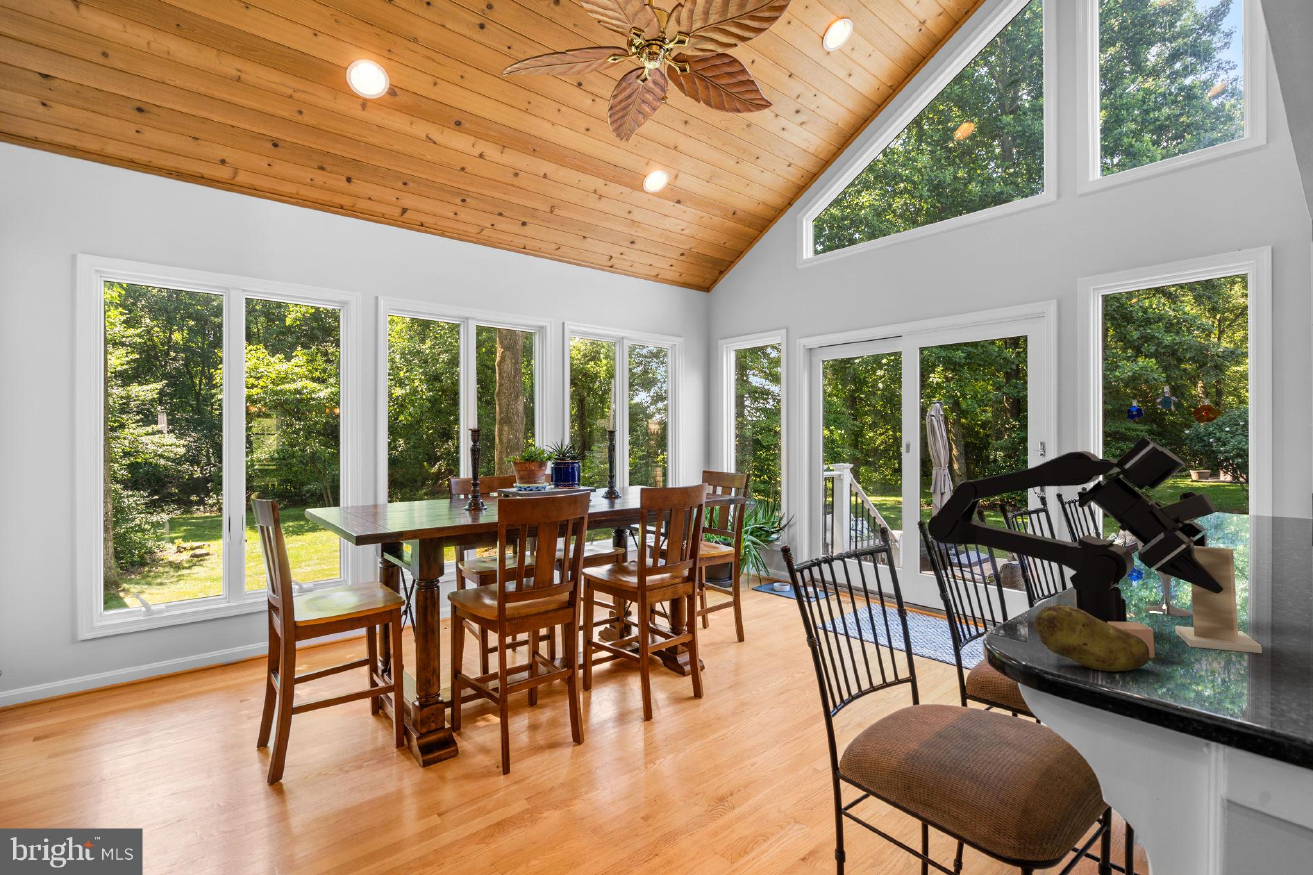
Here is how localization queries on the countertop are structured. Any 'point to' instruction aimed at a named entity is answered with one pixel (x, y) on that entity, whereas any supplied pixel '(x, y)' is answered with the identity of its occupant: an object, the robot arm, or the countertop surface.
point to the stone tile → (1218, 641)
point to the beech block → (1216, 596)
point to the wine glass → (1165, 596)
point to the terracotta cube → (1138, 633)
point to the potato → (1089, 640)
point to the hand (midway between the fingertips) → (1225, 586)
